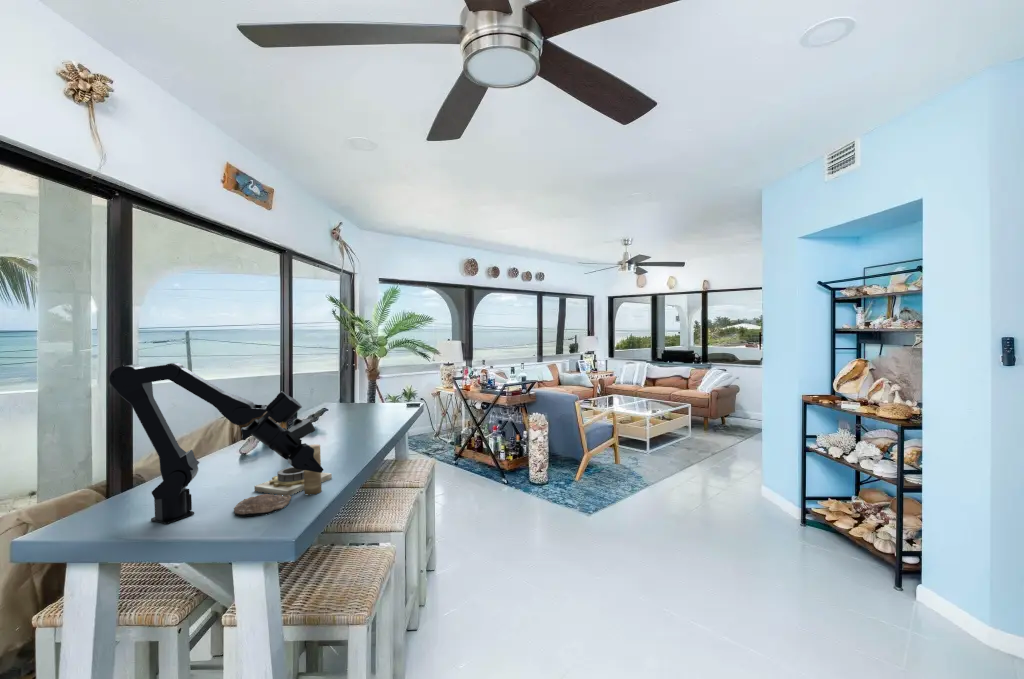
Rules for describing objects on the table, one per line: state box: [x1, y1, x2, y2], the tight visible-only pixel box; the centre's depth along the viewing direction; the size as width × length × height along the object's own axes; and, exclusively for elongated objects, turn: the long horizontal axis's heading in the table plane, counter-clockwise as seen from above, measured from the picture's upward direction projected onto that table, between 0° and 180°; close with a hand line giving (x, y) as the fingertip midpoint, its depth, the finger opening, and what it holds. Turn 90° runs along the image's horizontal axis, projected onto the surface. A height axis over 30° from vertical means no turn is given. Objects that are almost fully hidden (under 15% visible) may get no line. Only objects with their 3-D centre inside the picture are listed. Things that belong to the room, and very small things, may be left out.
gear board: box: [253, 466, 333, 496], centre depth 132 cm, size 16×13×4 cm
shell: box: [233, 493, 292, 518], centre depth 114 cm, size 12×13×4 cm
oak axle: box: [303, 443, 323, 496], centre depth 125 cm, size 4×4×13 cm
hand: (317, 467), depth 126 cm, fingers open, 9 cm apart
